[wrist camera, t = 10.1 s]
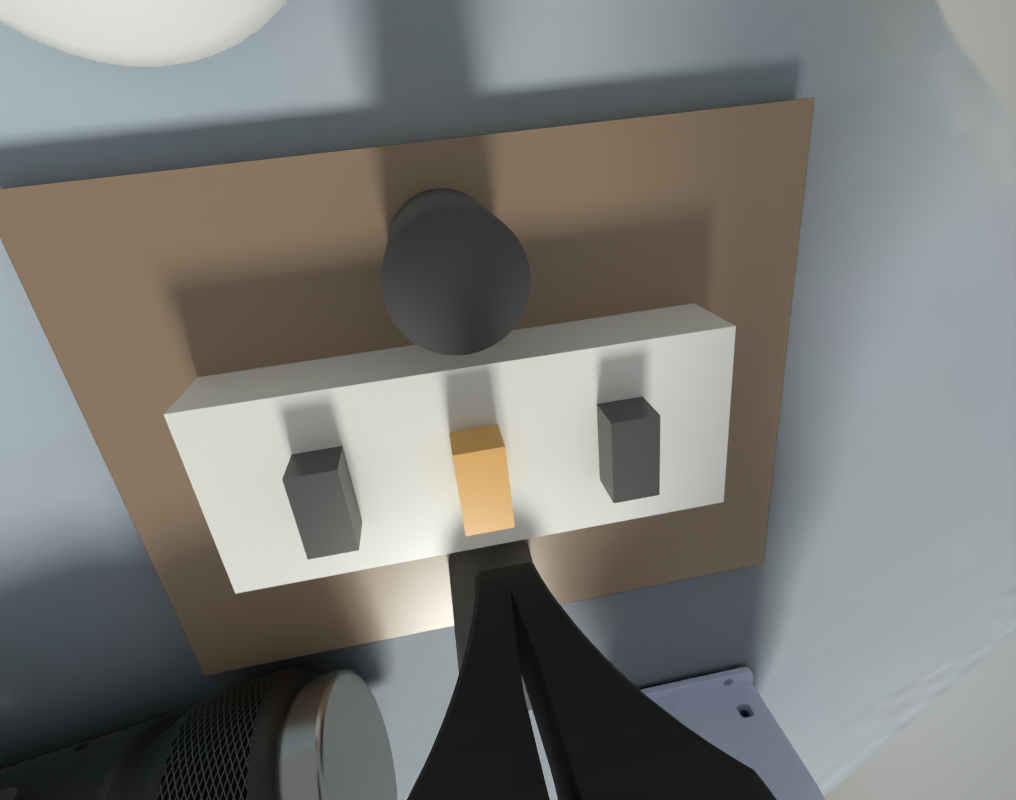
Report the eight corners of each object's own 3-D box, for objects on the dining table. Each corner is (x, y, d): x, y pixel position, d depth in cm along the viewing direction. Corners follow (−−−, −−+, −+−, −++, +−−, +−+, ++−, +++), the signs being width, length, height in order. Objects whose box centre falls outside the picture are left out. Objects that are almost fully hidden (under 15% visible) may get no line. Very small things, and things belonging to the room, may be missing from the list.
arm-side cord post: (526, 521, 24) (560, 629, 19) (533, 585, 26) (567, 703, 20) (442, 536, 24) (453, 651, 18) (454, 601, 25) (467, 724, 20)
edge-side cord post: (489, 181, 18) (523, 196, 13) (501, 290, 20) (536, 344, 15) (378, 195, 18) (366, 216, 13) (399, 305, 20) (396, 365, 14)
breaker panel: (796, 99, 20) (924, 84, 15) (751, 550, 28) (824, 635, 23) (1, 189, 17) (-163, 206, 12) (212, 656, 26) (165, 779, 21)
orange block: (498, 424, 18) (505, 446, 17) (507, 501, 20) (514, 527, 18) (448, 432, 18) (452, 455, 17) (461, 509, 19) (466, 536, 18)
